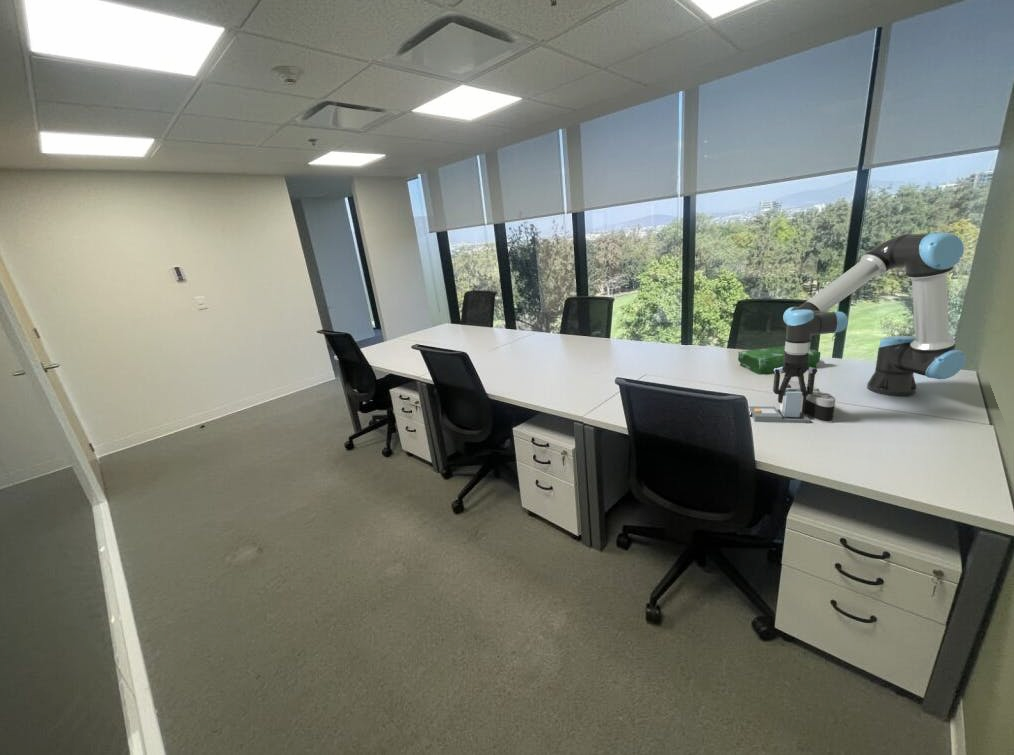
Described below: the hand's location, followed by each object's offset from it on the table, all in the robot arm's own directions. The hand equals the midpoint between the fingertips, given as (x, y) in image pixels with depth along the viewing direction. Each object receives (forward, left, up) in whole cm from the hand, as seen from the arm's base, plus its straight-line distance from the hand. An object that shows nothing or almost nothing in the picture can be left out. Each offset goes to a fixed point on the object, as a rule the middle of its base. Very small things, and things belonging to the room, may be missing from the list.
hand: (790, 410), depth 156 cm
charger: (0, -1, -2) cm, 2 cm away
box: (-12, -62, -3) cm, 64 cm away
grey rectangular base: (+4, 0, -3) cm, 5 cm away
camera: (-9, -7, -3) cm, 11 cm away
